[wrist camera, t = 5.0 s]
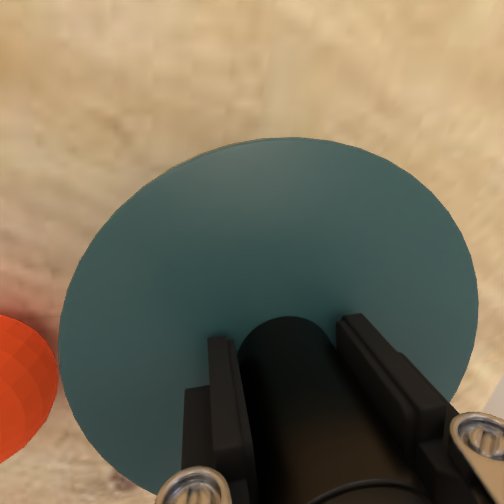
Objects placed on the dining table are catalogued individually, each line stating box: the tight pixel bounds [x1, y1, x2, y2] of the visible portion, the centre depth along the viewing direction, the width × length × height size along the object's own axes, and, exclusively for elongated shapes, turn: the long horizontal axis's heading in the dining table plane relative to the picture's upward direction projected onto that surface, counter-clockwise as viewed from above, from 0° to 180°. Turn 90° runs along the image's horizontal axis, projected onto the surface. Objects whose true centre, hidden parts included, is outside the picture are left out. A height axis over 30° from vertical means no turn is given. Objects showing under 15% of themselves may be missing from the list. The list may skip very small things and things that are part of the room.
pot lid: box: [58, 137, 479, 504], centre depth 9 cm, size 13×13×7 cm
